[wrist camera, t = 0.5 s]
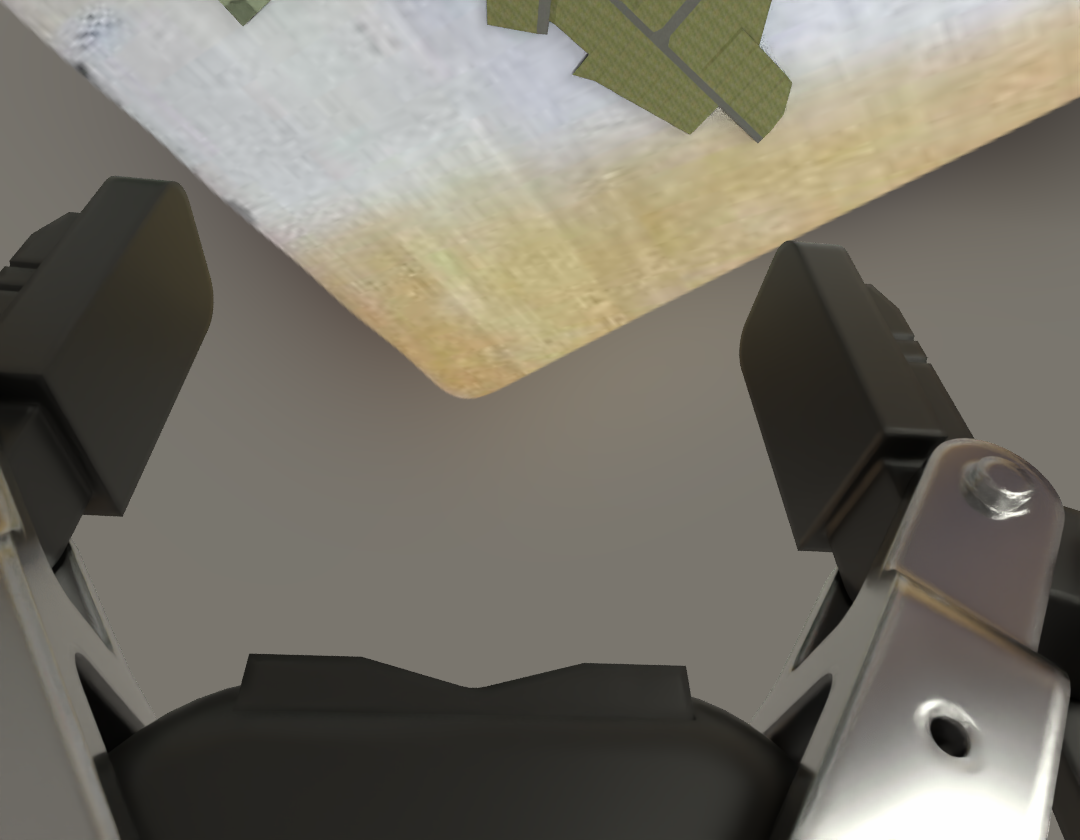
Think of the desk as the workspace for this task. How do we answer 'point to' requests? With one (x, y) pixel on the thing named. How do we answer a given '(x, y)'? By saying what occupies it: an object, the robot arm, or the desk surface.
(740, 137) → the desk surface
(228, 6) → the chalkboard
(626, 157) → the desk surface
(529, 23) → the map
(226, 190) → the desk surface
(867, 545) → the robot arm
